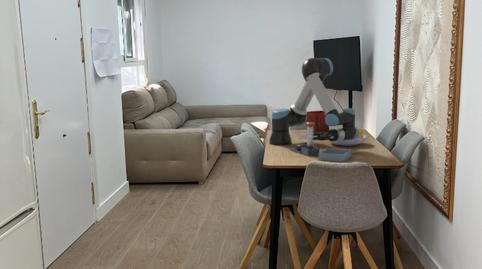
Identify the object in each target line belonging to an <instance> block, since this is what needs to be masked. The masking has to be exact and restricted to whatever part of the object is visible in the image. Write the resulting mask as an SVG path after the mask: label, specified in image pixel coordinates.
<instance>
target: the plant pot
mask: <svg viewBox="0 0 482 269" xmlns="http://www.w3.org/2000/svg"><path fill="white" fill-rule="evenodd" d="M325 117H326V115H325V113H324V111H323V110H312V111H311V110H310V111H309V110H308V111H307V120H306V122H305V123H304V124H305V126H306V127H307V125H306V123H307V122H313V123H314V125H313V133H319V132H322V133H323V132H326V133H327V132H328V130H329V126H328V125H327V124H326V122H325Z"/></svg>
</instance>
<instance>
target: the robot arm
mask: <svg viewBox="0 0 482 269" xmlns="http://www.w3.org/2000/svg"><path fill="white" fill-rule="evenodd" d="M333 71H334V66H333V62H332V61H331V59H330V58H326V57H310V58H307V59H306V60H304V62H303V64H302V66H301V73H302V77H303V79H304V81H305V83H304V85H303V87H302V89H301V91H300V93H299V95H298V97H297V99H296V101H295V103H293V104H291V106H290V108H286V107H285V108H283V107H282V108H277V109H274V110H273V111H272V112H271V134H270V137H269V144H270V145H274V146H288V145H291V144H292V142H293V141H292V137H291V134H290V128H292V127H300V126H302V125H304V124H306V123H305V122H306V120H307V112H308V111H307V108H308V107H309V105H310V103H311V101H312V99H313V98H314V96H315V97H316V100H317V101H318V103H319V105H320V107H321V109H322V111H324V113H325V115H326V117H325V122H326V124H327V125H328V126H338V125H342V126H343V128H339V129H330V130H328V132H327V133H326V132H323V133H322V132H319V133H313V136H307V133H302V134H301V133H300V134H299V136H298V137H299V138H298V139H299V140H304V139H306V142H307V141H313V142H315V141H320V142H322V141H329V142H330V141H339V142H340V140H352V139H356V138H358V136H359V132H358V129H359V128H358V127H356V111H355V108H351V107H350V108H343V109H342V112H339V110H338V109H337V107H336V105H335V103H334V101H333V100H332V98H331V96H330V95H329V93H328V91H327V89H326V87H325V85H324V81H325V80H326V77H328V76H331V75H332V73H333Z"/></svg>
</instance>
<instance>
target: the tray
mask: <svg viewBox="0 0 482 269" xmlns="http://www.w3.org/2000/svg"><path fill="white" fill-rule="evenodd" d="M351 158H352V150H351V149H338V148H325V149H322V150H321V151H319V155H318V160H319V161H325V162H327V161H330V162H338V163H339V162H341V163H346V162H347V161H348V160H350V159H351Z"/></svg>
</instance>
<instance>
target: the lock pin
mask: <svg viewBox="0 0 482 269" xmlns="http://www.w3.org/2000/svg"><path fill="white" fill-rule="evenodd" d="M306 125H307V126H306ZM313 125H314V123H313V122H307V123H305V126H306V130H307V131H306V132H307V133H306V134H307V136H313ZM306 143H307V144H306V145H307V148H308V149H312V148H313V147H314V141H307V140H306Z"/></svg>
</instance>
